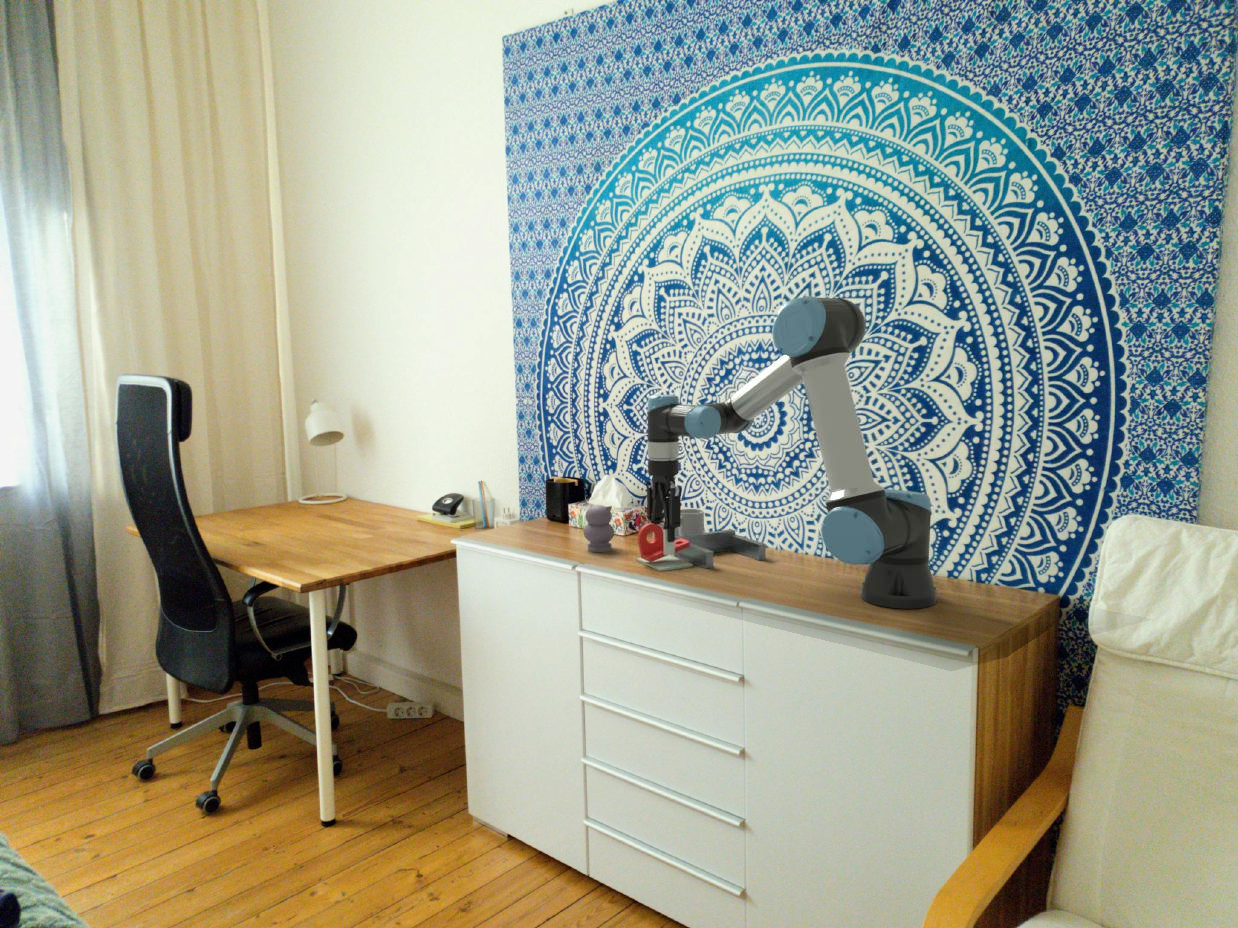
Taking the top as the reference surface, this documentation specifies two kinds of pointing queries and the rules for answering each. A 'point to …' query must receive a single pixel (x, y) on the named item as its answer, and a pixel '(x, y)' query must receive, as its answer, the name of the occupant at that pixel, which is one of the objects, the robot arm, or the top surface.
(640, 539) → the bracket
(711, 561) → the grey u-shaped frame
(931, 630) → the top surface
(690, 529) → the cup
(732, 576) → the top surface
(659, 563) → the mat
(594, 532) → the cat figurine
